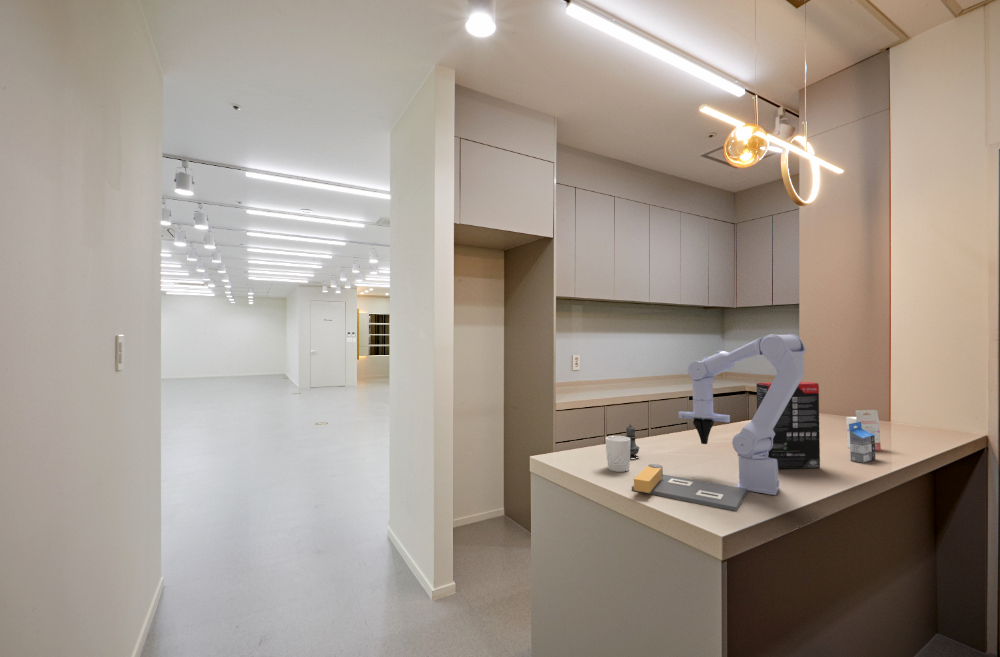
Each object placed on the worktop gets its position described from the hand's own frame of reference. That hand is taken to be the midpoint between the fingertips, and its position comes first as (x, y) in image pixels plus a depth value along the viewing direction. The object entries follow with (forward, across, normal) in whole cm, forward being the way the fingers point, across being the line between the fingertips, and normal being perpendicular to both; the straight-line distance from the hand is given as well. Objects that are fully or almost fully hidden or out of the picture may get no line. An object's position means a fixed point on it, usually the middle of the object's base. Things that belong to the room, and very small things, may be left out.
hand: (704, 443), depth 135 cm
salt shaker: (+10, +26, -6) cm, 28 cm away
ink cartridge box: (+10, -40, -63) cm, 75 cm away
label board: (+9, 0, +19) cm, 21 cm away
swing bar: (+8, +9, +22) cm, 26 cm away
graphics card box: (+10, -20, -23) cm, 32 cm away
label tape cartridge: (+10, -39, -45) cm, 60 cm away
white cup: (+10, +24, +10) cm, 28 cm away
